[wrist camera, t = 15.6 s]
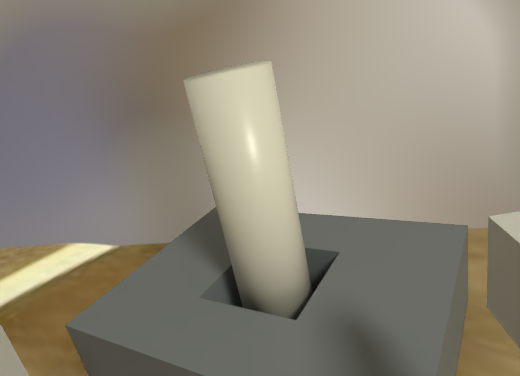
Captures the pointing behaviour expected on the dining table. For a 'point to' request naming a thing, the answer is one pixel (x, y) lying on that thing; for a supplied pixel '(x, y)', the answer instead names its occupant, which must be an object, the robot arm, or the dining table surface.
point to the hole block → (284, 329)
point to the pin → (252, 185)
